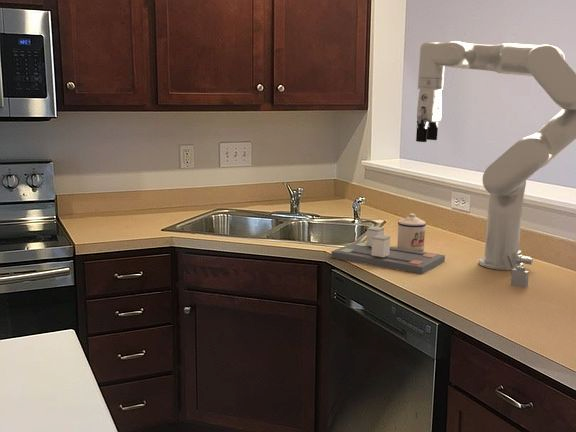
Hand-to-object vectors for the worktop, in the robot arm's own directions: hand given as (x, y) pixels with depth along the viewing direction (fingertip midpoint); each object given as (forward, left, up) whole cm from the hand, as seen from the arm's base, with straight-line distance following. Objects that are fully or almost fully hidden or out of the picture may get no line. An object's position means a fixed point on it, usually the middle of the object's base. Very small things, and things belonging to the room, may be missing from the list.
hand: (426, 140), depth 202 cm
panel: (+5, +14, -36) cm, 39 cm away
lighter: (-34, +17, -36) cm, 53 cm away
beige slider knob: (+5, +19, -33) cm, 39 cm away
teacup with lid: (+5, -5, -36) cm, 37 cm away
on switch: (+12, +9, -33) cm, 36 cm away
